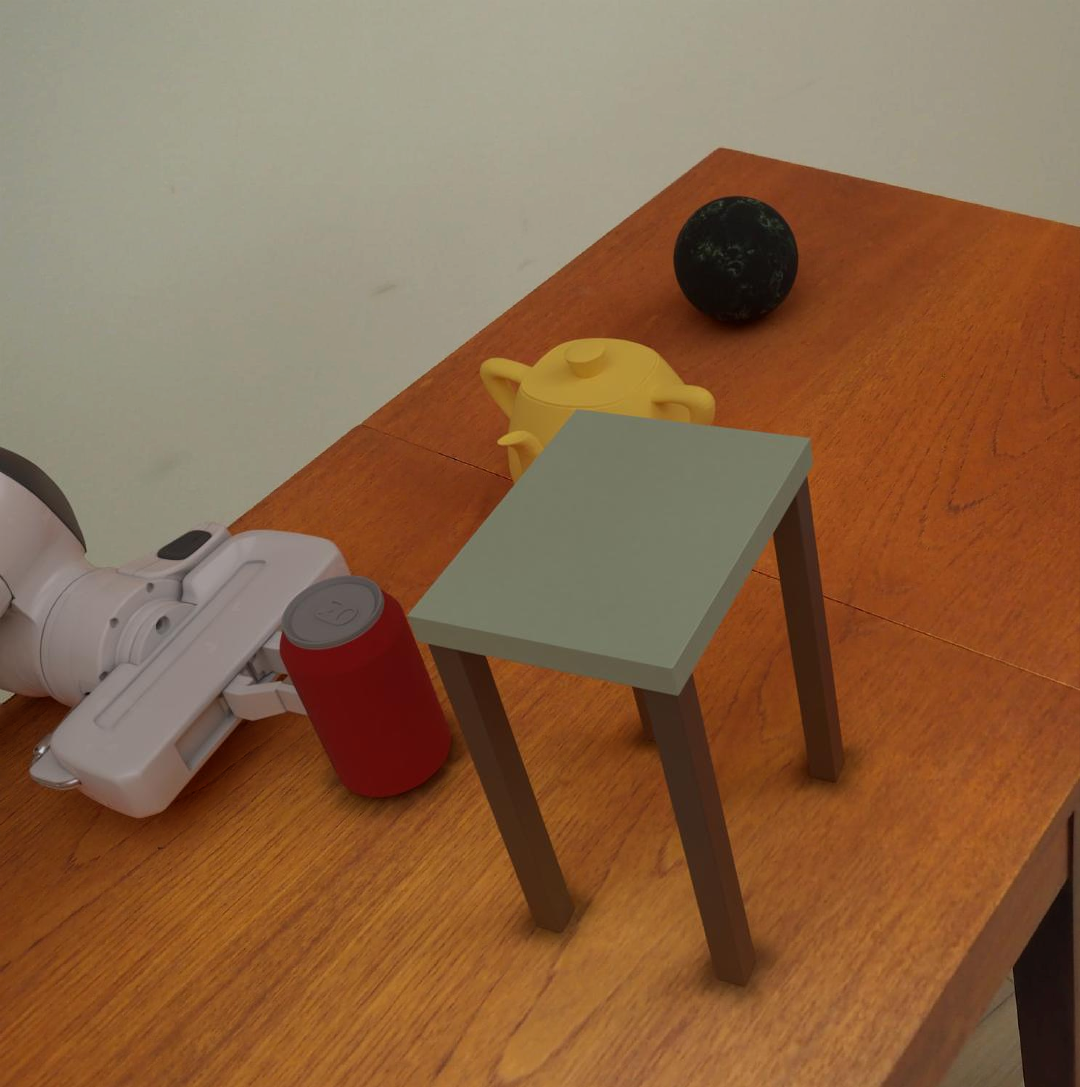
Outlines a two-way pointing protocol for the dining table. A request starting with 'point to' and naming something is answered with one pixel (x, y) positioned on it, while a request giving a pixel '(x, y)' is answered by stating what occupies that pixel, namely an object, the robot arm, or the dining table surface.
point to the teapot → (587, 392)
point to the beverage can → (364, 685)
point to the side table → (633, 622)
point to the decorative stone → (736, 259)
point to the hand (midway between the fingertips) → (322, 687)
